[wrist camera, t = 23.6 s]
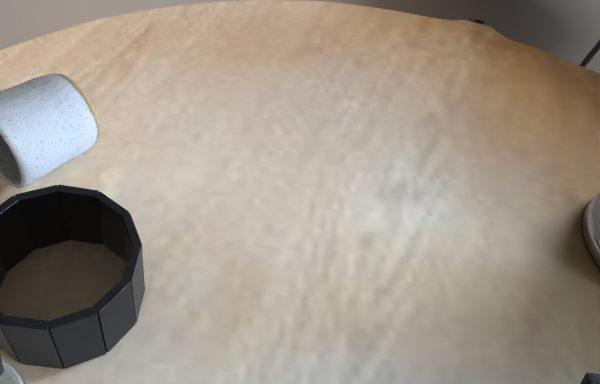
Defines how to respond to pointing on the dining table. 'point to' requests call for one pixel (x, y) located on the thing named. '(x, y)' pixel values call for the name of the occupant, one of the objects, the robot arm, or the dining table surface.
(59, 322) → the cup
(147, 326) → the dining table surface
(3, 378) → the sauce bottle
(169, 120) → the dining table surface
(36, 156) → the ceramic mug
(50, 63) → the dining table surface
